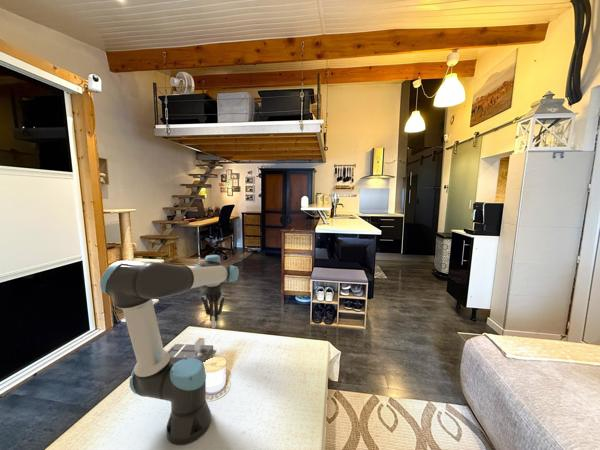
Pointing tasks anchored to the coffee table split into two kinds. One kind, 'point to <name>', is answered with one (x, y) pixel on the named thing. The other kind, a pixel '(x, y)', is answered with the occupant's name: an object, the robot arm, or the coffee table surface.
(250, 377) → the coffee table surface
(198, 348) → the fader
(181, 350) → the console
